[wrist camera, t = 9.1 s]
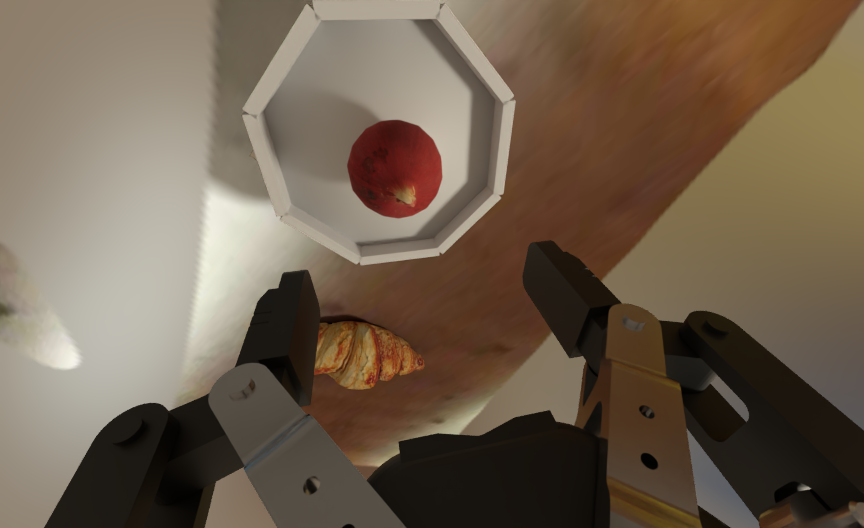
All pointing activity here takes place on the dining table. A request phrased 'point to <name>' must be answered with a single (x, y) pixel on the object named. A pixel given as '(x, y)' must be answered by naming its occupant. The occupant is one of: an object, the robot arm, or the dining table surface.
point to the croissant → (362, 354)
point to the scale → (369, 104)
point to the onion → (395, 168)
